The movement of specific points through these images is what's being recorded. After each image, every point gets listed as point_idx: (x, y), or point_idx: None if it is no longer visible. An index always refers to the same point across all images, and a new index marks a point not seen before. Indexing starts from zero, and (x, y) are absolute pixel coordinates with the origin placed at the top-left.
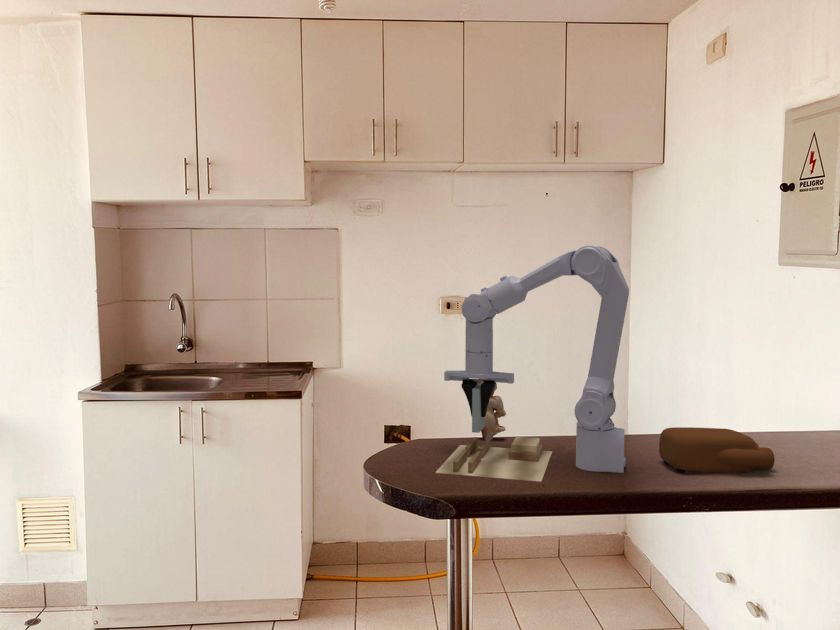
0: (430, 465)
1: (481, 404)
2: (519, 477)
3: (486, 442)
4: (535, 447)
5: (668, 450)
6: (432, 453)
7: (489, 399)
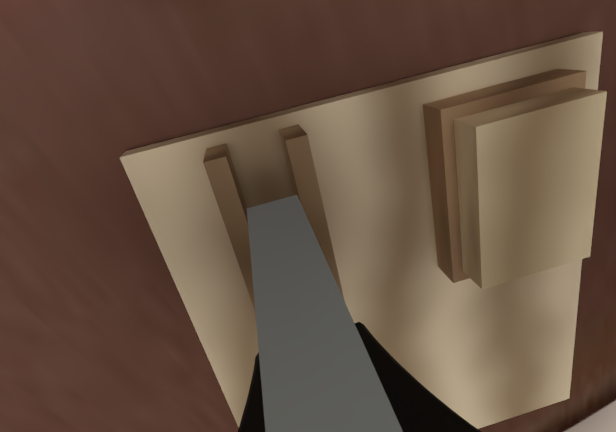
0: (175, 410)
1: None
2: (509, 404)
3: (321, 228)
4: (582, 254)
5: None
6: (59, 285)
7: (450, 413)
